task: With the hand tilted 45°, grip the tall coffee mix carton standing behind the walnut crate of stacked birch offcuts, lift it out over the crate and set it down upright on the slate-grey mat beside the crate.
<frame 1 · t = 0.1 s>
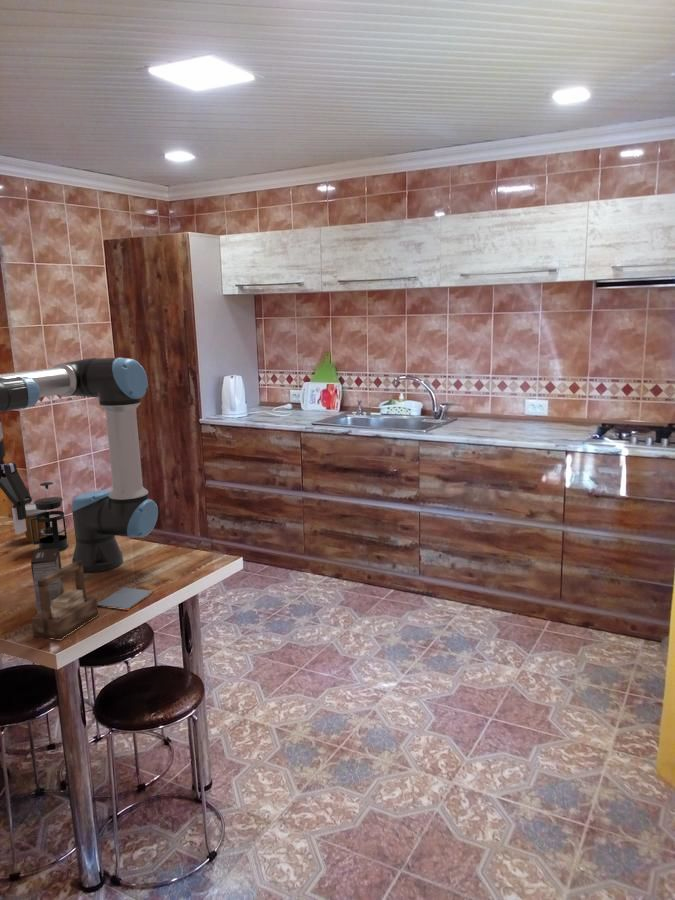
french press: (52, 549, 228), on the table
disposable coffee cup: (36, 539, 239), on the table
offcut rack: (67, 626, 170), on the table
slate mat: (125, 599, 185), on the table
coffee box: (52, 612, 179), on the table
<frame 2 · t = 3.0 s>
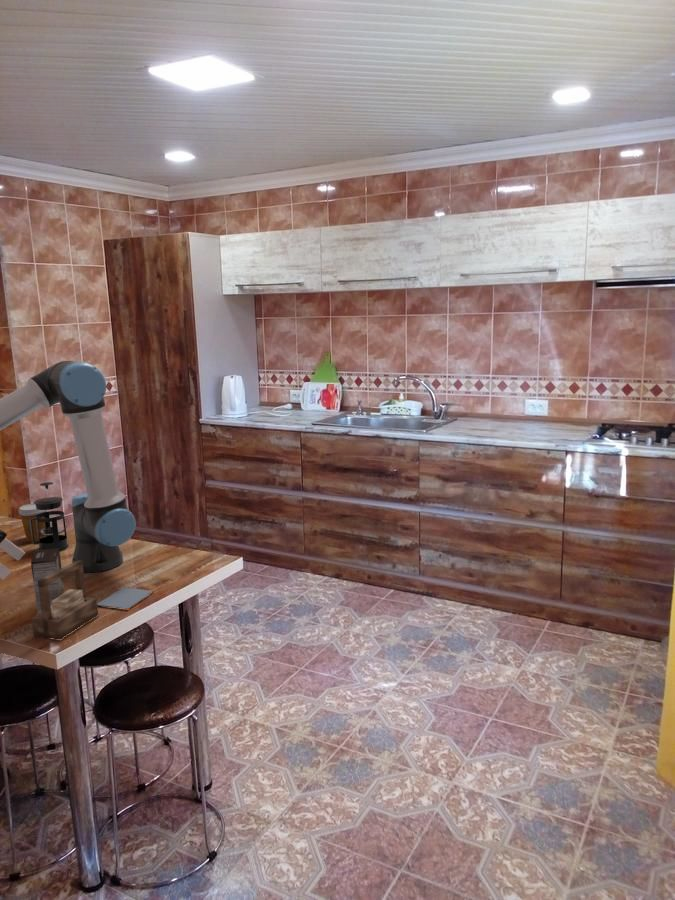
hand: (15, 565, 174), 14 cm above the table, tool tilted 45°, fingers open, 13 cm apart
nothing on the table moved.
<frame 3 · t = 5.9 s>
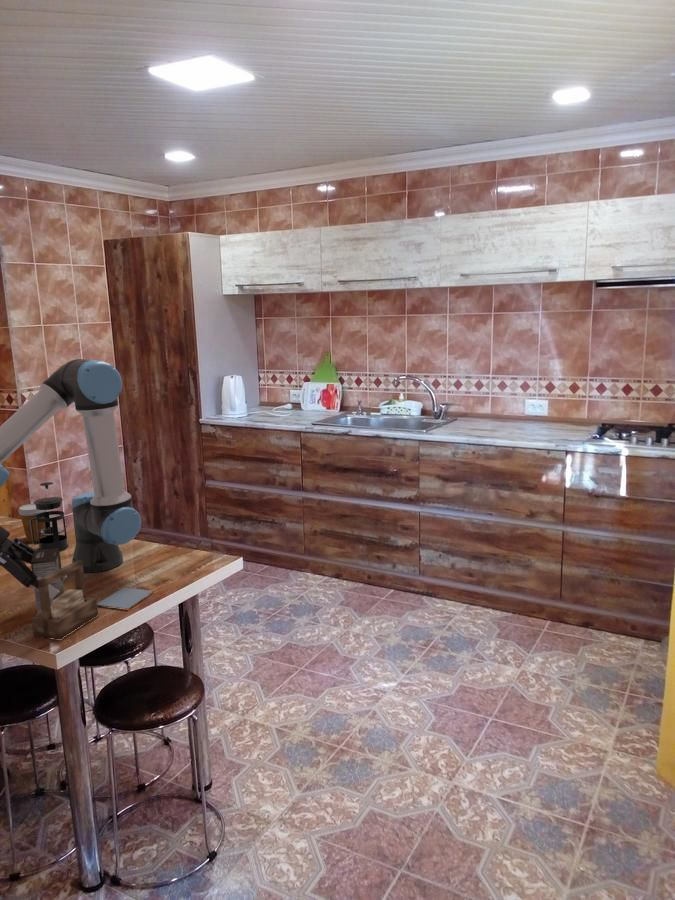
hand: (59, 587, 178), 6 cm above the table, tool tilted 45°, fingers closed on coffee box, 9 cm apart
coffee box: (52, 612, 179), on the table, touching gripper
everything else where it was.
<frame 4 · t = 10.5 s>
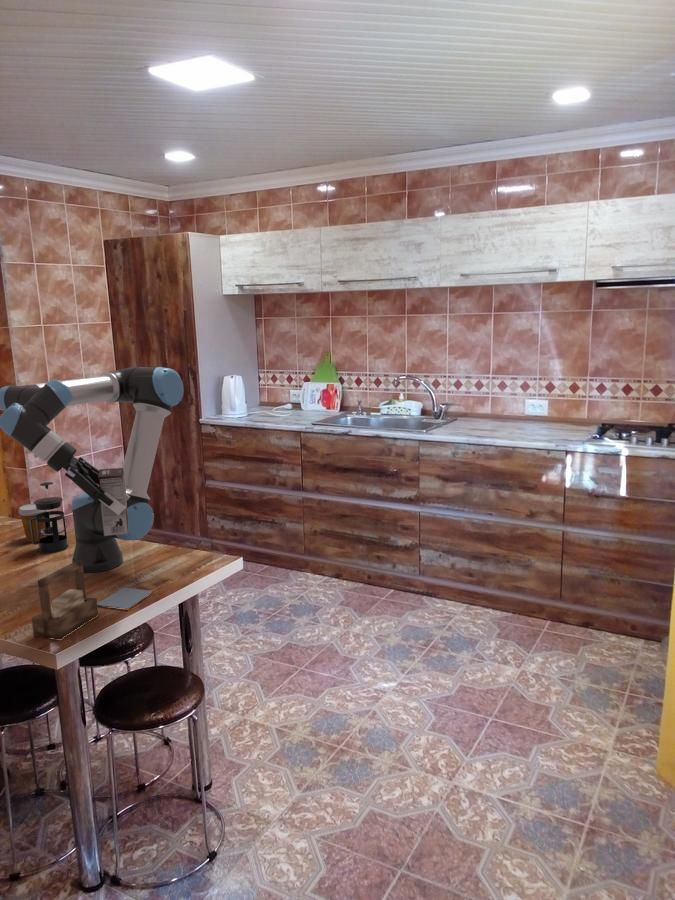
hand: (124, 505, 180), 27 cm above the table, tool tilted 45°, fingers closed on coffee box, 9 cm apart
coffee box: (116, 530, 181), point 20 cm above the table, touching gripper
everything else where it was.
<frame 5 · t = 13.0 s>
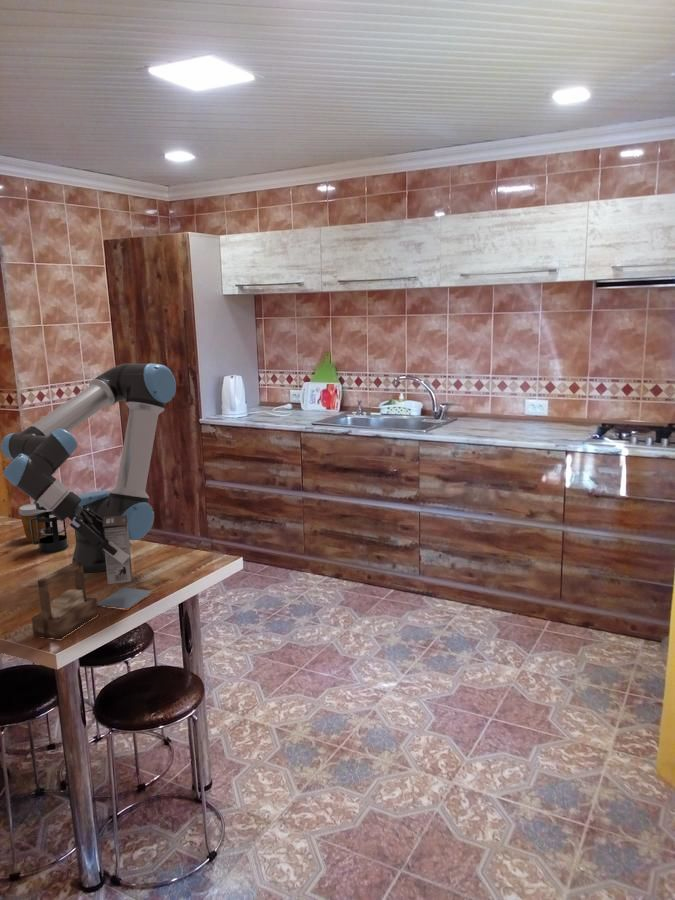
hand: (128, 553, 182), 14 cm above the table, tool tilted 45°, fingers closed on coffee box, 9 cm apart
coffee box: (119, 577, 183), point 7 cm above the table, touching gripper
everything else where it was.
when the fingers open (9 cm above the table, at t = 15.1 s): coffee box drops 1 cm, resting on slate mat.
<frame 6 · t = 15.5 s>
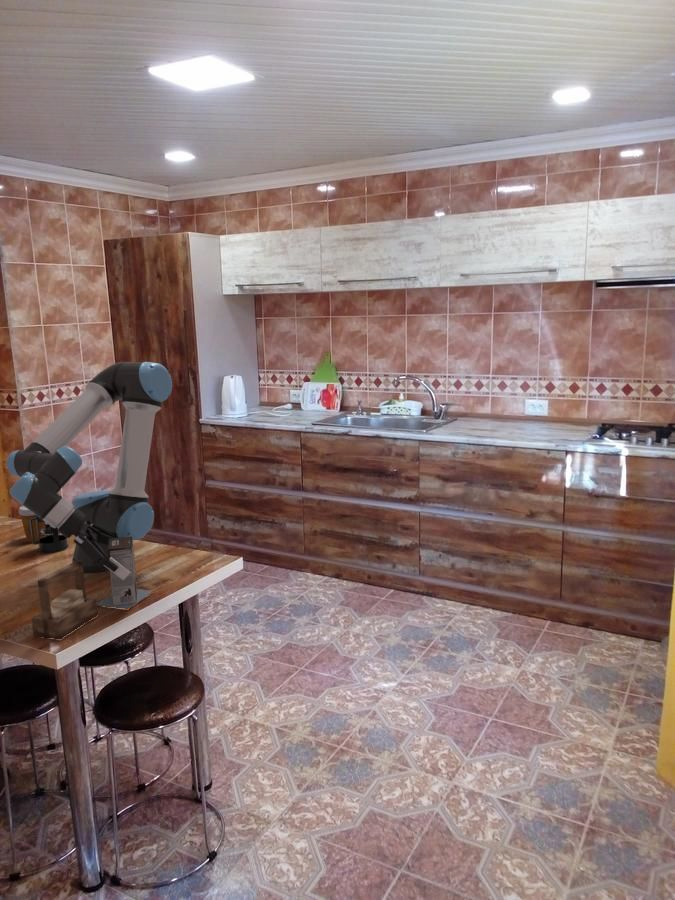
hand: (129, 566, 184), 9 cm above the table, tool tilted 45°, fingers open, 13 cm apart
coffee box: (125, 598, 185), resting on slate mat
everything else where it was.
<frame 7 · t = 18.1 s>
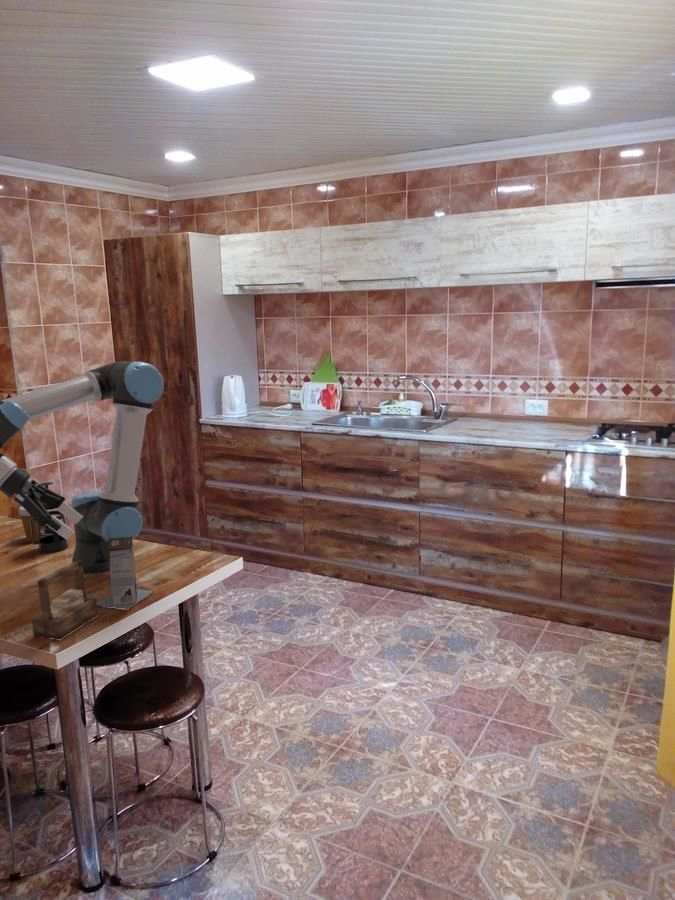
hand: (75, 527, 179), 22 cm above the table, tool tilted 45°, fingers open, 13 cm apart
nothing on the table moved.
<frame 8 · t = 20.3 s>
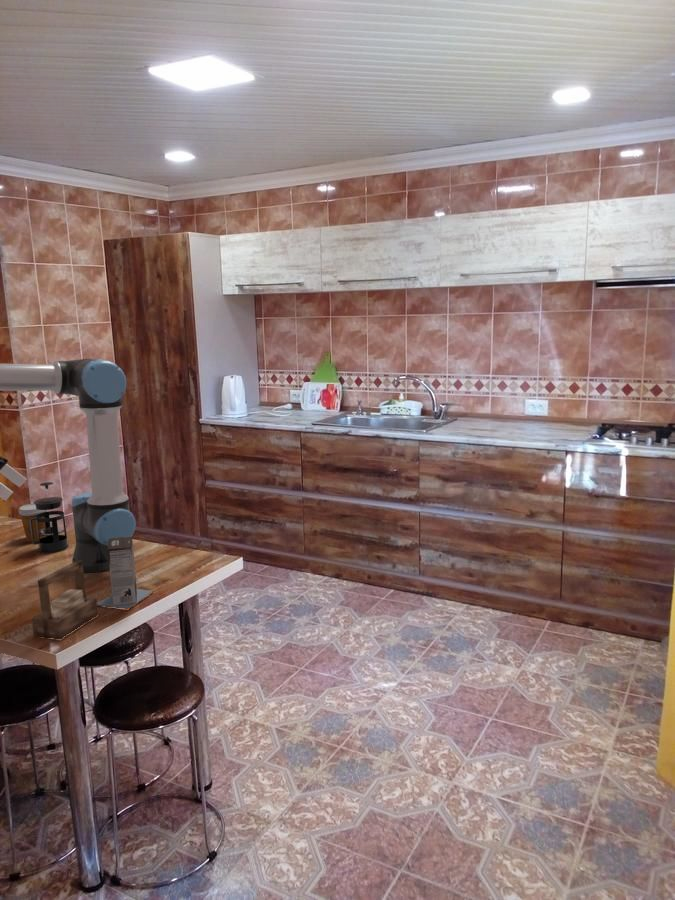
hand: (16, 489, 172), 34 cm above the table, tool tilted 45°, fingers open, 13 cm apart
nothing on the table moved.
at the end: coffee box inside the target area on the slate mat (0.2 cm from its centre), point 0.4 cm above the slate mat's base; coffee box tilted 0°; the gripper is holding nothing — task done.
